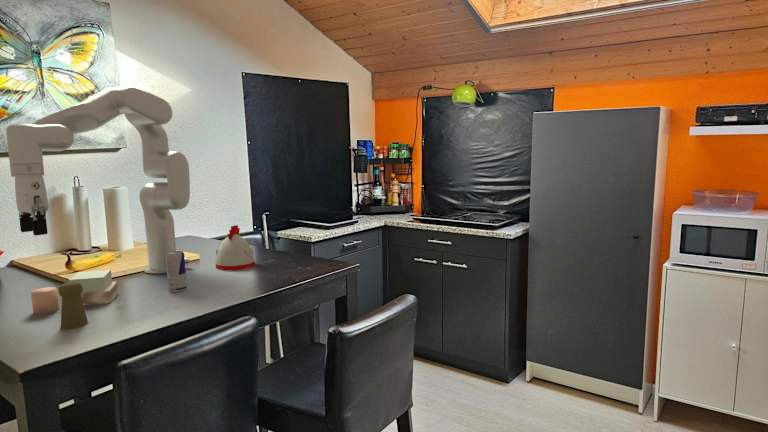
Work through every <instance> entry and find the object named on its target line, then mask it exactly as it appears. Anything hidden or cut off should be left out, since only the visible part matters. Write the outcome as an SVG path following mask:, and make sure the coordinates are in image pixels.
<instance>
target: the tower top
mask: <svg viewBox="0 0 768 432" xmlns="http://www.w3.org/2000/svg"><path fill="white" fill-rule="evenodd" d="M112 278H113V277H112V269H106V270H104V269H103V270H92V271H78V272H76V273H75V274H74V275H73V276H72V277H70V278H69V279H68V282H79V283H81V284H82V288H83V290H82V293H83V292H95V291H105V290H106V289H107V288H108V287H109V286H110V285H111V283H112V282H113V279H112Z"/></svg>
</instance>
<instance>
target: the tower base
mask: <svg viewBox="0 0 768 432" xmlns="http://www.w3.org/2000/svg"><path fill="white" fill-rule="evenodd" d="M118 285H119V284H118V281H112V283H111V285H110V286H109V287H108V288H107V289H106V290H105V291H95V292H83V293H81V298H82V301H83V305H84V306H91V305H92V304H93V305H101V304H103V303H104V304H111V303H112V302H111V301H114V299H115V298H116V296H118V294H119V293H118V292H119V286H118ZM114 297H115V298H114ZM93 305H92V306H93Z"/></svg>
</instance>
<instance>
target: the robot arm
mask: <svg viewBox="0 0 768 432" xmlns="http://www.w3.org/2000/svg"><path fill="white" fill-rule="evenodd" d="M121 115H124V117H125V119H126V121H128V122H129V124H131V125H132V126H133V127H134V128H135V129H136V130H137V131H138V133H139V135H140V139H141V146H142V147H141V148H142V167H143V172H144V174H145V175H146V176H147V177H148V178H152V179H167V180H166V181H167V182H165V181H161V182H160V181H153V182H148V183H146V184H144V185H143V186H142V187H141V188H140V191H139V202H140V205H141V208H142V211H143V216H144V217H143V218H144V224H145V228H144V229H145V238H146V241H145V242H146V251H147V262H148V263H147V264H148V266H149V267H147V266H145V267H146V268H145V267H144V269H143V270H144V273H146V274H167V267H166V253H167V252H170V251H177V245H176V244H177V243H176V235H175V234H176V232H175V221H174V216H173V214H172V212H171V211H174V210H175V211H179V210H183V209H185V208H186V207H187V206H188V204H189V201H190V198H191V196H190V195H191V191H190V190H191V189H190V187H191V186H190V164H189V162H188V159H187V157H186V156H185V154H183V153H182V152H180V151H176V150H170V149H169V139H168V133H167V132H166V130H165V128H164V127H163V126H162V125H166V124H168V123H169V122H171V120H172V118H173V109H172V107H171V105H170V103H169V102H168V101H166V100H165V99H163V97H160V96H157V95H155V94H153V93H151V92H149V91H146V90H144V89H141V88H139V87H137V86H131V85H130V86H114V87H108V88H106V89H104V90H101V91H100V92H98V93H96V94H95V95H93V96H91V97H89V98H87V99H85V100H84V101H82V102H80V103H77V104H75V105H72V106H69V107H66V108H64V109H63V110H62V109H61V110H59V111H55V112H54V113H51V114H48V115H45V116H44V117H42V118H39V119H38V120H36V121H34V122H32V123H29V124H28V123H25V124H24V123H22V124H21V123H19V124H18V123H16V124H9V125H7V127H6V129H5V132H6V140H7V149H8V150H7V151H8V160H9V169H10V177H13V178H14V192H15V202H16V207H17V211H19V212H18V217H19V228H20V232H21V233H28V232H33V236H43V235H48V224H47V223H48V222H47V212H48V211H49V209H50V208H49V207H50V206H49V201H48V195H47V188H46V183H45V179H44V176H45V169H44V158H43V157H44V156H43V152H62V151H66V150H68V149H70V148H71V147H72V145H73V143H74V141H75V134H76V135H77V134H82V133H87V132H92V131H95V130H97V129H99V128H101V127H102V126H104V125H105V124H107V123H109V122H111V121H112V120H113V119H116V118H117V117H119V116H121ZM186 264H191V259H190V257H185V265H186Z"/></svg>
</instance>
